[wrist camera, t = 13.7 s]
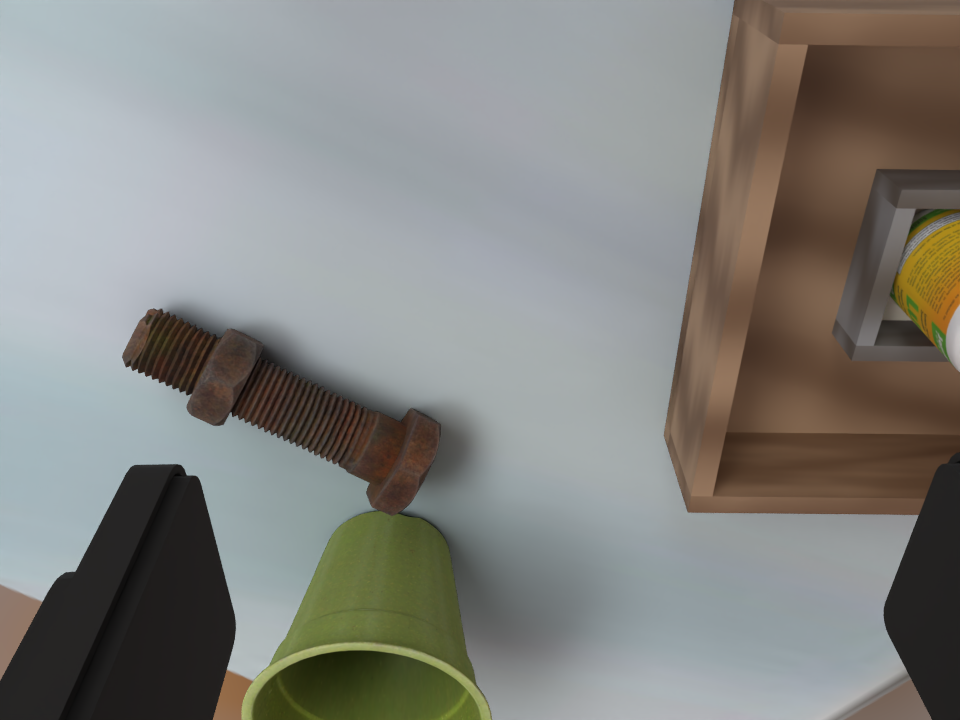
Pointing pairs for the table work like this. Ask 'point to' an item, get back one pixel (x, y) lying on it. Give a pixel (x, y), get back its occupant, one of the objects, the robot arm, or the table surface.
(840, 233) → the walled box
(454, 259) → the table surface
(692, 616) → the table surface
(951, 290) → the supplement bottle
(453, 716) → the plant pot
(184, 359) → the bolt
